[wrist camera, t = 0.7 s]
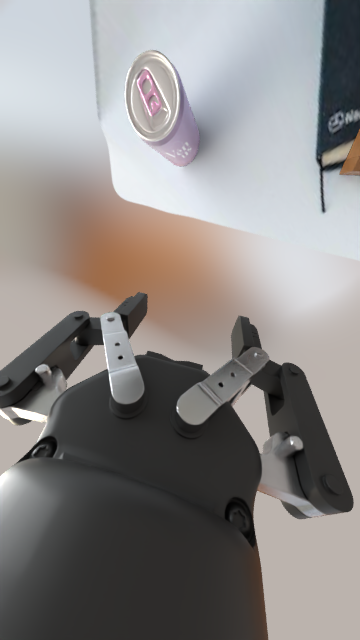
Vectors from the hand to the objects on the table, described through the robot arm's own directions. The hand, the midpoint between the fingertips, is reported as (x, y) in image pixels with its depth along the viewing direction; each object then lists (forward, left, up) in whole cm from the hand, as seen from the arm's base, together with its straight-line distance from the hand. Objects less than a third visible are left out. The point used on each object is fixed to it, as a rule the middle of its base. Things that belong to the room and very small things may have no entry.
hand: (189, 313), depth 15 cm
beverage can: (-16, -7, -27) cm, 32 cm away
